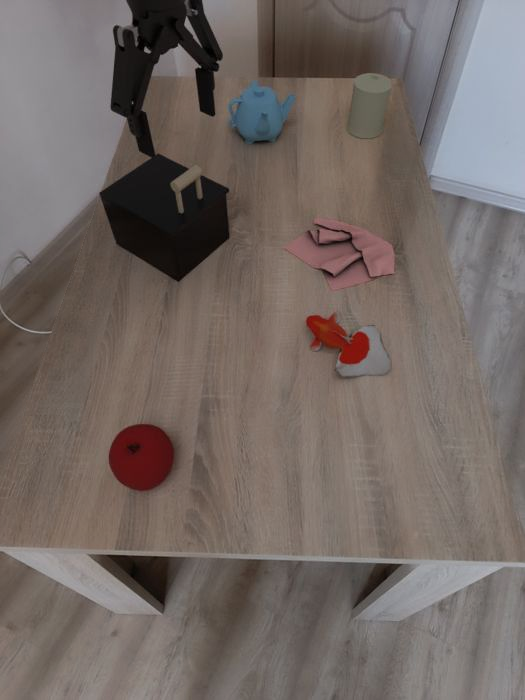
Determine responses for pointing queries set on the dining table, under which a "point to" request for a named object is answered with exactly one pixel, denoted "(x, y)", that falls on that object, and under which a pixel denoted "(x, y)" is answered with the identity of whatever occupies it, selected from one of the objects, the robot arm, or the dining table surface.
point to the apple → (141, 456)
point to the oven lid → (165, 193)
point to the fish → (351, 346)
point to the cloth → (344, 253)
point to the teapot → (259, 113)
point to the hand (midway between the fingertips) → (178, 132)
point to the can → (369, 105)
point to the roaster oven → (171, 238)
